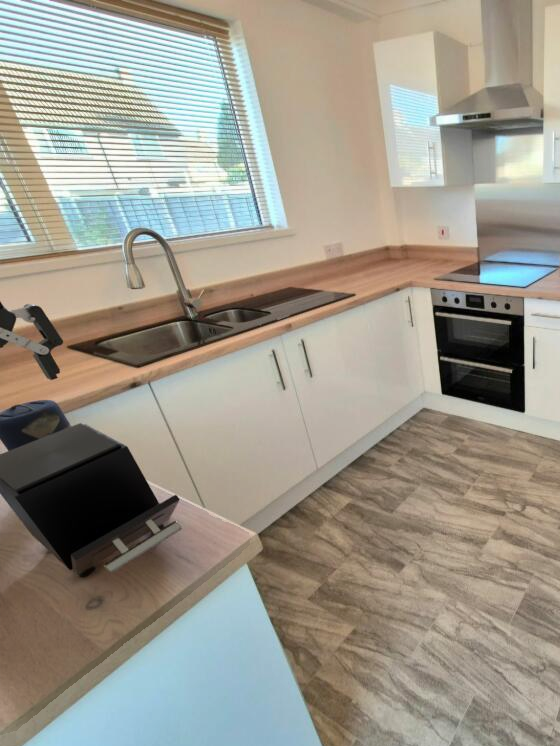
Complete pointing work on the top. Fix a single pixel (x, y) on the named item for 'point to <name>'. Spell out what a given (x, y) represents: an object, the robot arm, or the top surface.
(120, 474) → the oven
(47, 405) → the canister
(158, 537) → the oven door
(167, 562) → the top surface
